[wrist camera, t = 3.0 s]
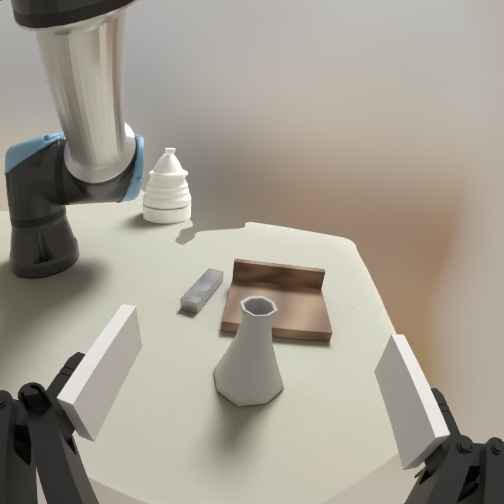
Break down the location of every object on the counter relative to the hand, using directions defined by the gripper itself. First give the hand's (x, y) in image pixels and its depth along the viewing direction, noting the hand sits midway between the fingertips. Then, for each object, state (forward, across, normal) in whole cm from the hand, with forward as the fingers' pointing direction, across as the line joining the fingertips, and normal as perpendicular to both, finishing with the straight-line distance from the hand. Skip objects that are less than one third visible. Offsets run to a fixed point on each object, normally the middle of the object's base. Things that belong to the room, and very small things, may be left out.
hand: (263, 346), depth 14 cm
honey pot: (+61, -26, -14) cm, 67 cm away
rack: (+24, +3, -14) cm, 28 cm away
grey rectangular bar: (+26, -8, -14) cm, 31 cm away
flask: (+10, 0, -14) cm, 18 cm away
